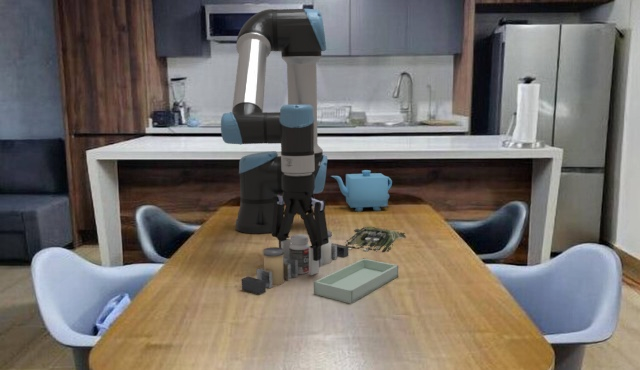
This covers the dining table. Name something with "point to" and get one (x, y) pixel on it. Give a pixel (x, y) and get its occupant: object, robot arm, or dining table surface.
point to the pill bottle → (300, 252)
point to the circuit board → (374, 238)
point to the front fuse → (274, 264)
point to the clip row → (290, 271)
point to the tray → (355, 280)
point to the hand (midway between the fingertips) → (299, 269)
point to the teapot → (365, 190)
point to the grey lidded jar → (327, 250)
